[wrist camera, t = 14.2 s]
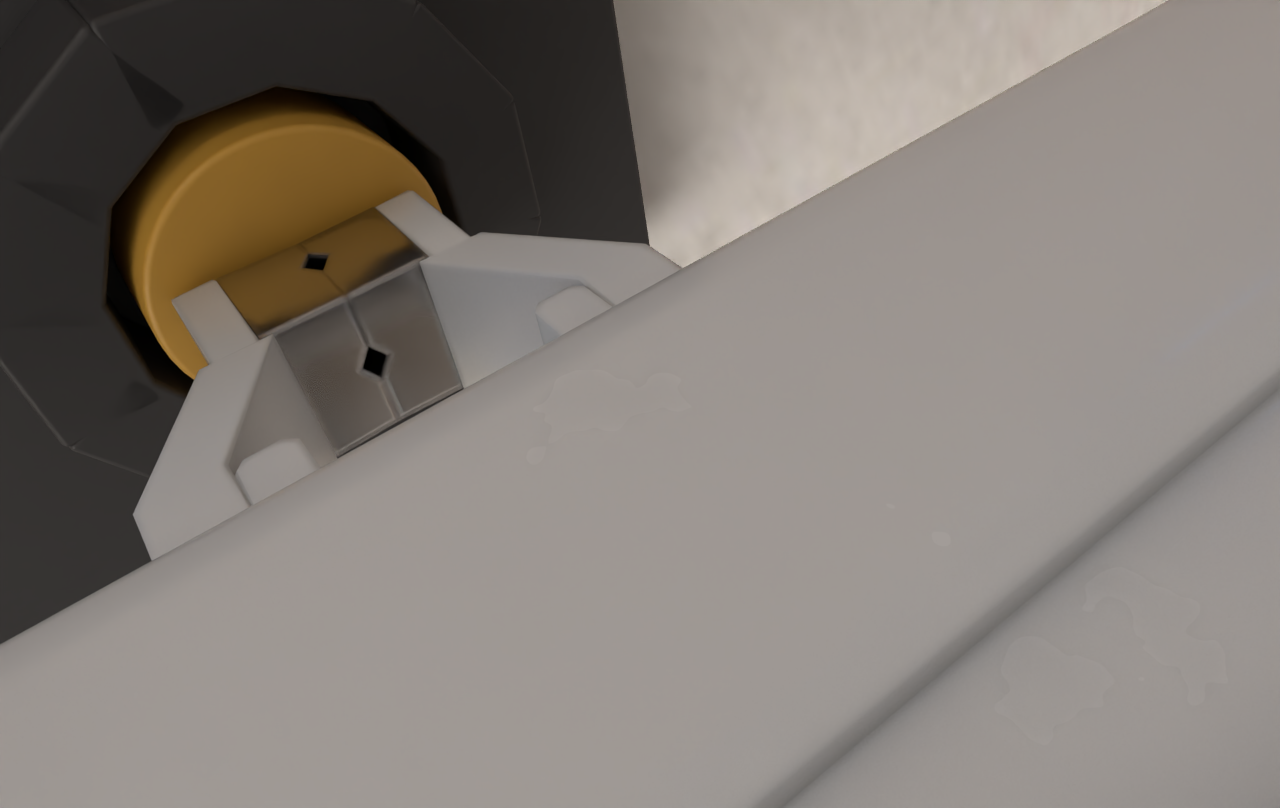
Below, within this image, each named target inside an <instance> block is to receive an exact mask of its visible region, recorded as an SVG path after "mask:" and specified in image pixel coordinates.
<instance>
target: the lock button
mask: <svg viewBox="0 0 1280 808" xmlns="http://www.w3.org/2000/svg"><path fill="white" fill-rule="evenodd" d="M407 190H411V191H414V192H416V193H417V194H418V195H419V196H421V197H422V198H423V199H424V200H426V201H427V202H428V203H429V204H431V205H432V206H433V207H434V208H436V209H437V210H438V211H439V212H441V213H442V211H441V209H440V206H439V203H438V201H437V198H436V196H435V194H434V193H433V191H432V189H431V187H430V186H429V184H428V182H427V181H426V179H425V178H424V177H423V175H422V174H421V173H420V172H419V170H418V169H417V168H416V167H415V166H414V165H413V164H412V163H411V162H410V161H409V160H408V159H407V158H406V157H405V156H404V155H403V154H401V153H400V152H399V151H398V150H396V149H395V148H394V147H393V146H391V145H390V144H389V143H388V142H386V141H385V140H384V139H383V138H381V137H380V136H379V135H378V134H376V133H375V132H374V131H373V130H371V129H370V128H369V127H367V126H366V125H365V124H364V123H362V122H361V121H360V120H359V119H357V118H356V117H355V116H354V115H352V114H351V113H350V112H348V111H347V110H346V109H344V108H343V107H341V106H340V105H339V104H337V103H336V102H334V101H332V100H330V99H328V98H326V97H324V96H322V95H320V94H318V93H315V92H308V91H302V90H296V89H289V88H283V87H273V88H271V89H268V90H265V91H263V92H260V93H258V94H255V95H253V96H250V97H247V98H245V99H242V100H240V101H237V102H235V103H232V104H229V105H227V106H224V107H222V108H219V109H217V110H214V111H211V112H209V113H206V114H204V115H201V116H198V117H196V118H193V119H191V120H188V121H186V122H183V123H180V124H178V125H176V126H175V127H174V129H173V130H172V131H171V133H170V134H169V135H168V136H167V138H166V139H165V140H164V142H163V143H162V144H161V145H160V147H159V148H158V149H157V150H156V152H155V153H154V154H153V156H152V157H151V158H150V159H149V161H148V162H147V163H146V165H145V166H144V167H143V168H142V170H141V171H140V172H139V174H138V175H137V176H136V177H135V179H134V180H133V181H132V183H131V184H130V185H129V186H128V188H127V189H126V190H125V192H124V193H123V194H122V195H121V197H120V198H119V199H118V200H117V202H116V203H115V204H114V206H113V207H112V216H111V232H110V244H111V250H112V253H113V256H114V259H115V262H116V265H117V268H118V270H119V272H120V274H121V276H122V278H123V280H124V282H125V283H126V285H127V287H128V289H129V291H130V292H131V294H132V296H133V298H134V300H135V301H136V303H137V305H138V307H139V308H140V310H141V312H142V314H143V316H144V317H145V319H146V321H147V323H148V325H149V326H150V328H151V330H152V332H153V333H154V335H155V337H156V339H157V341H158V342H159V344H160V345H161V347H162V348H163V350H164V351H165V352H166V354H167V355H168V356H169V358H170V359H171V360H172V361H173V362H174V363H175V364H176V365H177V366H178V367H179V368H180V369H181V370H182V371H183V372H184V373H185V374H187V375H188V376H189V377H191V378H192V379H193V380H194V379H195V377H196V375H197V373H198V371H199V370H200V369H202V368H204V367H206V366H208V364H207V362H206V360H205V359H204V357H203V355H202V354H201V352H200V350H199V349H198V347H197V345H196V343H195V342H194V340H193V338H192V337H191V335H190V333H189V332H188V330H187V328H186V326H185V325H184V323H183V321H182V320H181V318H180V316H179V315H178V313H177V311H176V309H175V308H174V306H173V304H172V301H171V299H173V298H175V297H177V296H179V295H181V294H183V293H185V292H187V291H189V290H191V289H193V288H195V287H197V286H199V285H201V284H204V283H206V282H208V281H210V280H215V279H217V278H219V277H221V276H224V275H226V274H228V273H231V272H233V271H235V270H237V269H240V268H242V267H244V266H247V265H249V264H251V263H254V262H256V261H258V260H260V259H263V258H265V257H267V256H270V255H272V254H274V253H277V252H279V251H281V250H283V249H286V248H288V247H290V246H293V245H295V244H298V243H300V242H302V241H304V240H306V239H308V238H310V237H312V236H314V235H316V234H318V233H320V232H322V231H324V230H326V229H328V228H331V227H333V226H335V225H337V224H339V223H341V222H343V221H345V220H347V219H349V218H351V217H353V216H355V215H357V214H359V213H361V212H363V211H365V210H368V209H370V208H372V207H376V206H378V205H380V204H382V203H384V202H385V201H387V200H389V199H391V198H393V197H395V196H397V195H399V194H401V193H403V192H405V191H407ZM215 281H216V280H215Z"/></svg>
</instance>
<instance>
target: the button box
mask: <svg viewBox="0 0 1280 808" xmlns="http://www.w3.org/2000/svg"><path fill="white" fill-rule="evenodd" d="M273 87H283V88H289V89H296V90H302V91H308V92H315V93H318V94H320V95H322V96H324V97H326V98H328V99H330V100H332V101H334V102H336V103H337V104H339V105H340V106H341V107H343V108H344V109H346V110H347V111H348V112H350V113H351V114H352V115H354V116H355V117H356V118H357V119H359V120H360V121H361V122H362V123H364V124H365V125H366V126H367V127H369V128H370V129H371V130H373V131H374V132H375V133H376V134H378V135H379V136H380V137H381V138H383V139H384V140H385V141H386V142H388V143H389V144H390V145H391V146H393V147H394V148H395V149H396V150H398V151H399V152H400V153H401V154H403V155H404V156H405V157H406V158H407V159H408V160H409V161H410V162H411V163H412V164H413V165H414V166H415V167H416V168H417V169H418V170H419V172H420V173H421V174H422V175H423V177H424V178H425V179H426V181H427V182H428V184H429V186H430V187H431V189H432V191H433V193H434V194H435V196H436V198H437V201H438V203H439V206H440V209H441V211H442V214H443V215H444V216H446V217H447V218H448V219H449V220H451V221H452V222H453V223H454V224H456V225H457V226H458V227H459V228H461V229H462V230H463V231H464V232H466V233H467V234H468V235H469V236H471V237H472V236H474V235H476V234H478V233H480V232H487V233H501V234H515V235H530V236H544V237H558V238H572V239H586V240H600V241H614V242H628V243H643V244H647V245H649V239H648V232H647V225H646V218H645V212H644V205H643V198H642V192H641V185H640V178H639V172H638V165H637V158H636V151H635V145H634V138H633V131H632V125H631V118H630V111H629V105H628V98H627V91H626V84H625V78H624V71H623V64H622V58H621V51H620V44H619V38H618V31H617V24H616V17H615V11H614V4H613V0H0V644H2V643H3V642H5V641H7V640H9V639H11V638H12V637H14V636H16V635H18V634H20V633H22V632H23V631H25V630H27V629H29V628H31V627H32V626H34V625H36V624H38V623H40V622H41V621H43V620H45V619H47V618H49V617H51V616H52V615H54V614H56V613H58V612H60V611H61V610H63V609H65V608H67V607H69V606H70V605H72V604H74V603H76V602H78V601H80V600H81V599H83V598H85V597H87V596H89V595H90V594H92V593H94V592H96V591H98V590H100V589H101V588H103V587H105V586H107V585H109V584H110V583H112V582H114V581H116V580H118V579H120V578H121V577H123V576H125V575H127V574H129V573H130V572H132V571H134V570H136V569H138V568H140V567H141V566H143V565H145V564H147V563H149V562H150V561H152V560H151V558H150V555H149V553H148V550H147V548H146V545H145V543H144V541H143V538H142V536H141V533H140V531H139V528H138V526H137V524H136V521H135V519H134V516H133V513H134V511H135V509H136V506H137V504H138V502H139V500H140V498H141V495H142V493H143V491H144V489H145V487H146V485H147V482H148V480H149V478H150V476H151V474H152V471H153V469H154V467H155V465H156V463H157V460H158V458H159V456H160V454H161V452H162V449H163V447H164V445H165V443H166V441H167V438H168V436H169V434H170V432H171V430H172V427H173V425H174V423H175V421H176V419H177V417H178V414H179V412H180V410H181V408H182V406H183V403H184V401H185V399H186V397H187V395H188V392H189V390H190V388H191V386H192V384H193V381H194V380H193V379H192V378H191V377H189V376H188V375H187V374H185V373H184V372H183V371H182V370H181V369H180V368H179V367H178V366H177V365H176V364H175V363H174V362H173V361H172V360H171V359H170V358H169V356H168V355H167V354H166V352H165V351H164V350H163V348H162V347H161V345H160V344H159V342H158V341H157V339H156V337H155V335H154V333H153V332H152V330H151V328H150V326H149V325H148V323H147V321H146V319H145V317H144V316H143V314H142V312H141V310H140V308H139V307H138V305H137V303H136V301H135V300H134V298H133V296H132V294H131V292H130V291H129V289H128V287H127V285H126V283H125V282H124V280H123V278H122V276H121V274H120V272H119V270H118V268H117V265H116V262H115V259H114V256H113V253H112V250H111V244H110V232H111V216H112V207H113V206H114V204H115V203H116V202H117V200H118V199H119V198H120V197H121V195H122V194H123V193H124V192H125V190H126V189H127V188H128V186H129V185H130V184H131V183H132V181H133V180H134V179H135V177H136V176H137V175H138V174H139V172H140V171H141V170H142V168H143V167H144V166H145V165H146V163H147V162H148V161H149V159H150V158H151V157H152V156H153V154H154V153H155V152H156V150H157V149H158V148H159V147H160V145H161V144H162V143H163V142H164V140H165V139H166V138H167V136H168V135H169V134H170V133H171V131H172V130H173V129H174V127H175V126H176V125H178V124H180V123H183V122H186V121H188V120H191V119H193V118H196V117H198V116H201V115H204V114H206V113H209V112H211V111H214V110H217V109H219V108H222V107H224V106H227V105H229V104H232V103H235V102H237V101H240V100H242V99H245V98H247V97H250V96H253V95H255V94H258V93H260V92H263V91H265V90H268V89H271V88H273ZM649 246H650V245H649ZM463 389H464V388H462V389H460V390H458V391H456V392H454V393H452V394H450V395H448V396H446V397H444V398H443V399H441V400H439V401H437V402H435V403H433V404H431V405H429V406H427V407H425V408H423V409H421V410H419V411H417V412H416V413H414V414H412V415H410V416H408V417H406V418H404V419H402V420H400V421H398V422H397V423H395V424H393V425H391V426H390V427H388V428H386V429H385V430H383V431H381V432H379V433H378V434H376V435H374V436H373V437H371V438H369V439H367V440H366V441H364V442H362V443H361V444H359V445H357V446H355V447H354V448H352V449H350V450H349V451H347V452H345V453H343V454H342V455H340V456H338V457H337V459H338V458H339V457H341V456H343V455H345V454H347V453H348V452H350V451H352V450H354V449H356V448H358V447H359V446H361V445H363V444H365V443H367V442H368V441H370V440H372V439H374V438H376V437H378V436H379V435H381V434H383V433H385V432H387V431H388V430H390V429H392V428H394V427H396V426H398V425H399V424H401V423H403V422H405V421H407V420H408V419H410V418H412V417H414V416H416V415H418V414H419V413H421V412H423V411H425V410H427V409H428V408H430V407H432V406H434V405H436V404H437V403H439V402H441V401H443V400H445V399H447V398H448V397H450V396H452V395H454V394H456V393H457V392H459V391H461V390H463Z"/></svg>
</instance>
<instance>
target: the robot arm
mask: <svg viewBox="0 0 1280 808" xmlns="http://www.w3.org/2000/svg"><path fill="white" fill-rule="evenodd" d="M215 280H216V281H215ZM215 280H210V281H208V282H206V283H204V284H201V285H199V286H197V287H195V288H193V289H191V290H189V291H187V292H185V293H183V294H181V295H179V296H177V297H175V298H173V299H171V301H172V304H173V306H174V308H175V309H176V311H177V313H178V315H179V316H180V318H181V320H182V321H183V323H184V325H185V326H186V328H187V330H188V332H189V333H190V335H191V337H192V338H193V340H194V342H195V343H196V345H197V347H198V349H199V350H200V352H201V354H202V355H203V357H204V359H205V360H206V362H207V364H208V366H206V367H204V368H202V369H200V370H199V371H198V373H197V375H196V377H195V379H194V381H193V384H192V386H191V388H190V390H189V392H188V395H187V397H186V399H185V401H184V403H183V406H182V408H181V410H180V412H179V414H178V417H177V419H176V421H175V423H174V425H173V427H172V430H171V432H170V434H169V436H168V438H167V441H166V443H165V445H164V447H163V449H162V452H161V454H160V456H159V458H158V460H157V463H156V465H155V467H154V469H153V471H152V474H151V476H150V478H149V480H148V482H147V485H146V487H145V489H144V491H143V493H142V495H141V498H140V500H139V502H138V504H137V506H136V509H135V511H134V513H133V516H134V519H135V521H136V524H137V526H138V528H139V531H140V533H141V536H142V538H143V541H144V543H145V545H146V548H147V550H148V553H149V555H150V558H151V560H152V561H150V562H149V563H147V564H145V565H143V566H141V567H140V568H138V569H136V570H134V571H132V572H130V573H129V574H127V575H125V576H123V577H121V578H120V579H118V580H116V581H114V582H112V583H110V584H109V585H107V586H105V587H103V588H101V589H100V590H98V591H96V592H94V593H92V594H90V595H89V596H87V597H85V598H83V599H81V600H80V601H78V602H76V603H74V604H72V605H70V606H69V607H67V608H65V609H63V610H61V611H60V612H58V613H56V614H54V615H52V616H51V617H49V618H47V619H45V620H43V621H41V622H40V623H38V624H36V625H34V626H32V627H31V628H29V629H27V630H25V631H23V632H22V633H20V634H18V635H16V636H14V637H12V638H11V639H9V640H7V641H5V642H3V643H2V644H0V808H1280V0H1168V1H1166V2H1164V3H1163V4H1161V5H1159V6H1157V7H1156V8H1154V9H1152V10H1150V11H1149V12H1147V13H1145V14H1143V15H1142V16H1140V17H1138V18H1136V19H1135V20H1133V21H1131V22H1129V23H1127V24H1126V25H1124V26H1122V27H1120V28H1118V29H1116V30H1115V31H1113V32H1111V33H1109V34H1107V35H1106V36H1104V37H1102V38H1100V39H1098V40H1096V41H1095V42H1093V43H1091V44H1089V45H1087V46H1086V47H1084V48H1082V49H1080V50H1078V51H1076V52H1075V53H1073V54H1071V55H1069V56H1067V57H1065V58H1064V59H1062V60H1060V61H1058V62H1056V63H1055V64H1053V65H1051V66H1049V67H1047V68H1045V69H1044V70H1042V71H1040V72H1038V73H1036V74H1035V75H1033V76H1031V77H1029V78H1027V79H1025V80H1024V81H1022V82H1020V83H1018V84H1016V85H1015V86H1013V87H1011V88H1009V89H1007V90H1005V91H1004V92H1002V93H1000V94H998V95H996V96H995V97H993V98H991V99H989V100H987V101H986V102H984V103H982V104H980V105H978V106H976V107H975V108H973V109H971V110H969V111H967V112H966V113H964V114H962V115H960V116H958V117H956V118H955V119H953V120H951V121H949V122H947V123H946V124H944V125H942V126H940V127H938V128H937V129H935V130H933V131H931V132H929V133H927V134H926V135H924V136H922V137H920V138H918V139H917V140H915V141H913V142H911V143H909V144H908V145H906V146H904V147H902V148H900V149H898V150H897V151H895V152H893V153H891V154H889V155H888V156H886V157H884V158H882V159H880V160H878V161H877V162H875V163H873V164H871V165H869V166H868V167H866V168H864V169H862V170H860V171H859V172H857V173H855V174H853V175H851V176H849V177H848V178H846V179H844V180H842V181H840V182H839V183H837V184H835V185H833V186H831V187H829V188H828V189H826V190H824V191H822V192H820V193H819V194H817V195H815V196H813V197H811V198H810V199H808V200H806V201H804V202H802V203H800V204H799V205H797V206H795V207H793V208H791V209H790V210H788V211H786V212H784V213H782V214H780V215H779V216H777V217H775V218H773V219H771V220H770V221H768V222H766V223H764V224H762V225H761V226H759V227H757V228H755V229H753V230H751V231H750V232H748V233H746V234H744V235H742V236H741V237H739V238H737V239H735V240H733V241H732V242H730V243H728V244H726V245H724V246H722V247H721V248H719V249H717V250H715V251H713V252H712V253H710V254H708V255H706V256H704V257H702V258H701V259H699V260H697V261H695V262H693V263H692V264H690V265H688V266H686V267H684V268H682V267H680V266H679V265H677V264H676V263H674V262H673V261H671V260H670V259H668V258H667V257H665V256H664V255H662V254H661V253H659V252H658V251H656V250H655V249H653V248H652V247H650V246H649V245H647V244H643V243H628V242H614V241H600V240H586V239H572V238H558V237H544V236H530V235H515V234H501V233H487V232H480V233H478V234H476V235H474V236H472V237H471V236H469V235H468V234H467V233H466V232H464V231H463V230H462V229H461V228H459V227H458V226H457V225H456V224H454V223H453V222H452V221H451V220H449V219H448V218H447V217H446V216H444V215H443V214H442V213H441V212H439V211H438V210H437V209H436V208H434V207H433V206H432V205H431V204H429V203H428V202H427V201H426V200H424V199H423V198H422V197H421V196H419V195H418V194H417V193H416V192H414V191H411V190H407V191H405V192H403V193H401V194H399V195H397V196H395V197H393V198H391V199H389V200H387V201H385V202H384V203H382V204H380V205H378V206H376V207H372V208H370V209H368V210H365V211H363V212H361V213H359V214H357V215H355V216H353V217H351V218H349V219H347V220H345V221H343V222H341V223H339V224H337V225H335V226H333V227H331V228H328V229H326V230H324V231H322V232H320V233H318V234H316V235H314V236H312V237H310V238H308V239H306V240H304V241H302V242H300V243H298V244H295V245H293V246H290V247H288V248H286V249H283V250H281V251H279V252H277V253H274V254H272V255H270V256H267V257H265V258H263V259H260V260H258V261H256V262H254V263H251V264H249V265H247V266H244V267H242V268H240V269H237V270H235V271H233V272H231V273H228V274H226V275H224V276H221V277H219V278H217V279H215ZM462 388H464V389H463V390H461V391H459V392H457V393H456V394H454V395H452V396H450V397H448V398H447V399H445V400H443V401H441V402H439V403H437V404H436V405H434V406H432V407H430V408H428V409H427V410H425V411H423V412H421V413H419V414H418V415H416V416H414V417H412V418H410V419H408V420H407V421H405V422H403V423H401V424H399V425H398V426H396V427H394V428H392V429H390V430H388V431H387V432H385V433H383V434H381V435H379V436H378V437H376V438H374V439H372V440H370V441H368V442H367V443H365V444H363V445H361V446H359V447H358V448H356V449H354V450H352V451H350V452H348V453H347V454H345V455H343V456H341V457H339V458H338V459H337V457H338V456H340V455H342V454H343V453H345V452H347V451H349V450H350V449H352V448H354V447H355V446H357V445H359V444H361V443H362V442H364V441H366V440H367V439H369V438H371V437H373V436H374V435H376V434H378V433H379V432H381V431H383V430H385V429H386V428H388V427H390V426H391V425H393V424H395V423H397V422H398V421H400V420H402V419H404V418H406V417H408V416H410V415H412V414H414V413H416V412H417V411H419V410H421V409H423V408H425V407H427V406H429V405H431V404H433V403H435V402H437V401H439V400H441V399H443V398H444V397H446V396H448V395H450V394H452V393H454V392H456V391H458V390H460V389H462Z"/></svg>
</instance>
